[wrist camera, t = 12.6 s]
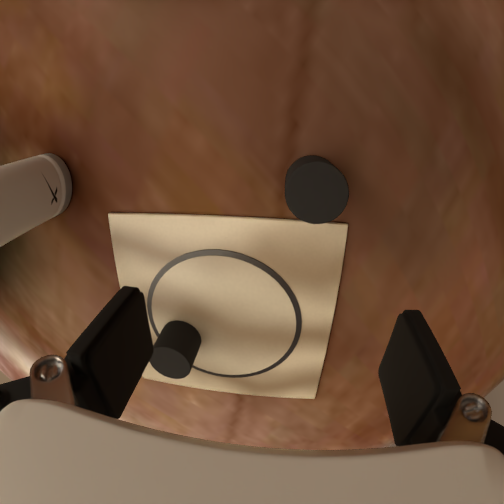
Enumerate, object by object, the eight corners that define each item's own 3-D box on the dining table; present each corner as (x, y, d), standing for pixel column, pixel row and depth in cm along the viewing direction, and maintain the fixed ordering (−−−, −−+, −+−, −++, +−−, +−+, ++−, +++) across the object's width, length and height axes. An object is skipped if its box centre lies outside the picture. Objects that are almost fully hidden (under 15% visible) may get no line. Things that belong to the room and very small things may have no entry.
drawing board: (110, 212, 25) (106, 214, 24) (347, 223, 23) (348, 225, 22) (144, 375, 33) (142, 378, 32) (314, 396, 31) (314, 399, 30)
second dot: (286, 153, 21) (286, 159, 18) (340, 157, 21) (351, 164, 17) (284, 206, 23) (283, 222, 19) (336, 209, 22) (345, 226, 19)
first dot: (160, 317, 28) (144, 343, 24) (200, 322, 27) (188, 350, 24) (165, 348, 29) (152, 375, 26) (203, 354, 29) (193, 382, 25)
